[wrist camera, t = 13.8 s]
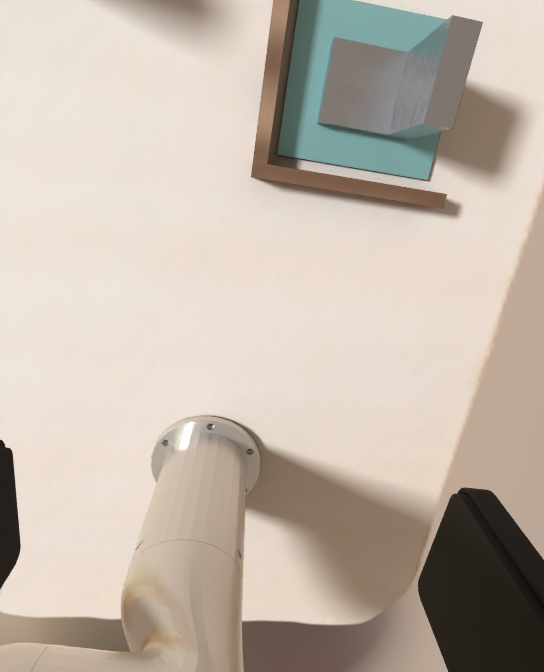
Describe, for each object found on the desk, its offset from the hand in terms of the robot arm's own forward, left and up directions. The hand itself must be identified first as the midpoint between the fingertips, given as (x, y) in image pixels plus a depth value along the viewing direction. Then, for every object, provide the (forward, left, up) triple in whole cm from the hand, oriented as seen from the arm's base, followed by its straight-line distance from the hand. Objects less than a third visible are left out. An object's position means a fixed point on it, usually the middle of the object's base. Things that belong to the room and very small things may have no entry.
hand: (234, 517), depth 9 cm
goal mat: (+15, -8, -33) cm, 37 cm away
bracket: (+15, -8, -33) cm, 37 cm away
